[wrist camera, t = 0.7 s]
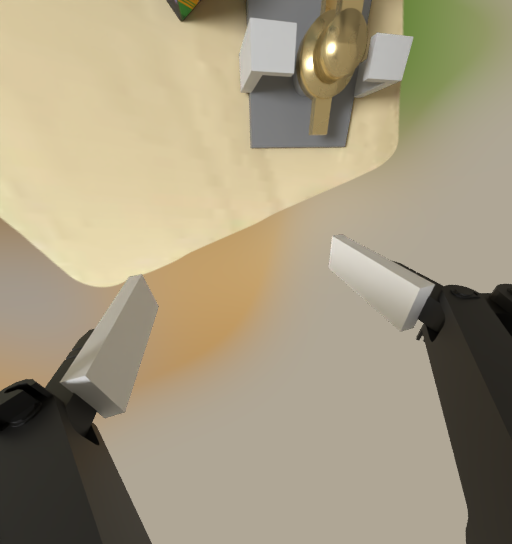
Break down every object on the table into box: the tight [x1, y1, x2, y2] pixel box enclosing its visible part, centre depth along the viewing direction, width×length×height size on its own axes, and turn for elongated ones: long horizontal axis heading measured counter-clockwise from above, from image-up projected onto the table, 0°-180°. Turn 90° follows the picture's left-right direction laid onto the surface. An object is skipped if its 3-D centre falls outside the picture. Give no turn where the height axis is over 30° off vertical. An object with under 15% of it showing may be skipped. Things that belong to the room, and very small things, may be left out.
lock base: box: [239, 0, 413, 148], centre depth 26 cm, size 18×21×9 cm
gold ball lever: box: [296, 0, 368, 135], centre depth 19 cm, size 20×8×13 cm, turn 1°
